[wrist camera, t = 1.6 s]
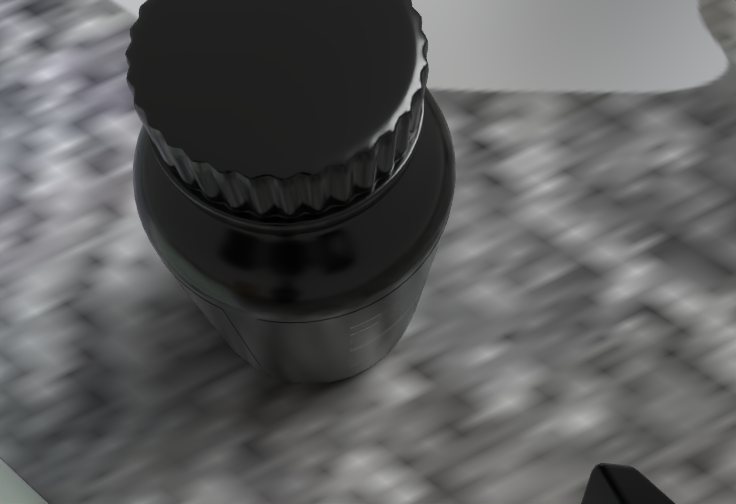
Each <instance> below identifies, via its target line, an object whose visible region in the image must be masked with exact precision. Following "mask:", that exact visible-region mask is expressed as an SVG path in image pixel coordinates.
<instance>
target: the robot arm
mask: <svg viewBox="0 0 736 504" xmlns="http://www.w3.org/2000/svg"><path fill="white" fill-rule="evenodd" d="M581 504H675V503H674V502H673V501H672V500H671V499H670V498H668V497H667V496H666V495H665V494H664V493H663V492H662V491H661V490H659V489H658V488H657V487H656V486H655V485H654V484H653V483H651V482H650V481H649V480H648V479H647V478H646V477H645V476H644V475H642V474H641V473H640V472H639V471H638V470H636V469H635V468H633V467H631V466H626V465H617V464H608V463H600V464H598V465H596V466H595V467H594V468H593V470H592V472H591V475H590V478H589V481H588V484H587V487H586V490H585V494H584V497H583V500H582V503H581Z"/></svg>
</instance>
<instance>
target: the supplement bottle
mask: <svg viewBox="0 0 736 504" xmlns="http://www.w3.org/2000/svg"><path fill="white" fill-rule="evenodd" d="M130 37H131V43H130V45H129V47H128V49H127V51H126V53H125V56H126V60H127V63H128V65H129V70H128V73H127V78H126V79H127V84H128V86H129V89H130V91H131V92H132V94H133V96H134V106H135V109H136V112H137V114H138V116H139V118H140V119H141V121H142V123H143V125H142V128H141V131H140V134H139V137H138V141H137V145H136V149H135V155H134V164H133V187H134V196H135V201H136V206H137V210H138V214H139V217H140V220H141V222H142V225H143V228H144V230H145V232H146V234H147V236H148V238H149V240H150V242H151V244H152V245H153V247H154V248H155V250H156V252H157V253H158V255H159V256H160V258H161V260H162V261H163V263H164V264H165V265H166V267H167V268H168V269H169V270H170V272H171V273H172V274H173V275H174V277H175V278H176V279H177V280H178V282H179V283H180V284H181V286H182V287H183V288H184V289H185V291H186V292H187V293H188V294H189V296H190V297H191V298H192V299H193V301H194V302H195V303H196V304H197V306H198V307H199V308H200V309H201V311H202V312H203V313H204V315H205V316H206V317H207V318H208V320H209V321H210V322H211V323H212V325H213V326H214V327H215V328H216V330H217V331H218V332H219V333H220V335H221V336H222V337H223V338H224V340H225V341H226V342H227V343H228V344H229V345H230V347H231V348H232V349H233V350H234V351H235V352H236V353H237V354H238V355H239V356H240V357H242V358H243V359H244V360H245V361H246V362H248V363H249V364H251V365H252V366H254V367H255V368H257V369H258V370H260V371H262V372H264V373H266V374H268V375H271V376H273V377H276V378H278V379H282V380H286V381H290V382H296V383H305V384H320V383H328V382H334V381H338V380H342V379H345V378H348V377H351V376H354V375H356V374H358V373H360V372H362V371H364V370H366V369H368V368H369V367H371V366H372V365H374V364H375V363H377V362H378V361H379V360H381V359H382V358H383V357H384V356H385V355H386V354H387V353H388V352H389V351H390V350H391V349H392V348H393V347H394V346H395V345H396V343H397V342H398V341H399V340H400V338H401V337H402V335H403V334H404V332H405V331H406V329H407V327H408V325H409V323H410V321H411V319H412V317H413V314H414V312H415V309H416V307H417V304H418V301H419V298H420V296H421V293H422V290H423V287H424V285H425V282H426V279H427V276H428V273H429V271H430V268H431V265H432V262H433V259H434V257H435V254H436V251H437V248H438V245H439V243H440V240H441V237H442V234H443V231H444V229H445V226H446V223H447V220H448V217H449V213H450V209H451V205H452V200H453V195H454V188H455V181H456V163H455V152H454V147H453V142H452V137H451V134H450V131H449V128H448V124H447V122H446V120H445V117H444V115H443V113H442V111H441V109H440V107H439V105H438V103H437V102H436V100H435V98H434V97H433V95H432V94H431V92H430V91H429V90H428V88H427V87H426V83H427V78H428V70H429V69H428V62H427V59H426V57H427V51H428V40H427V38H426V36H425V34H424V33H423V31H422V18H421V16H420V14H419V13H418V12H417V11H416V10H415V9H414V8H413V7H412V2H411V0H147V1H146V2H145V3H144V4H142V5H141V6H140V9H139V19H138V20H137V21H136V22H135V23H134V25H133V26H132V27H131V29H130Z"/></svg>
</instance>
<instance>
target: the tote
mask: <svg viewBox="0 0 736 504" xmlns="http://www.w3.org/2000/svg"><path fill="white" fill-rule="evenodd" d="M0 504H48V503H47V502H46V501H45V500H44V499H43V498H42V497H41V496H40V495H39V494H38V493H37V492H35V491H34V490H33V489H32V488H31V487H30V486H29V485H28V484H27V483H26V482H25V481H24V480H23V479H22V478H21V477H20V476H18V475H17V474H16V473H15V472H14V471H13V470H12V469H11V468H10V467H9V466H8V465H7V464H6V463H5V462H4V461H3V460H2V459H0Z"/></svg>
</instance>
